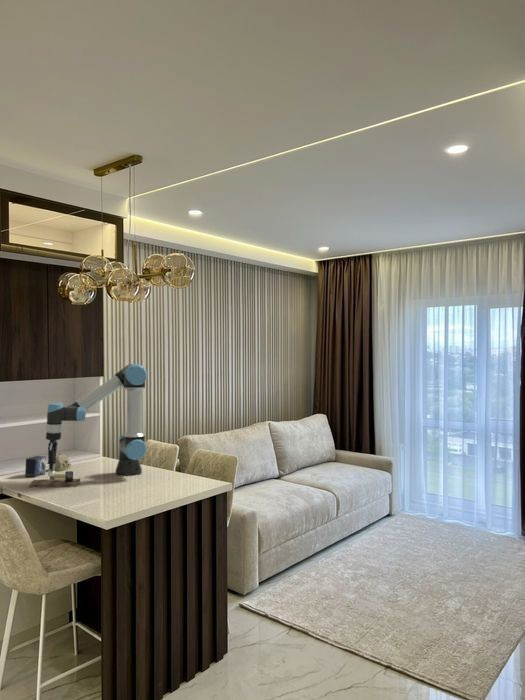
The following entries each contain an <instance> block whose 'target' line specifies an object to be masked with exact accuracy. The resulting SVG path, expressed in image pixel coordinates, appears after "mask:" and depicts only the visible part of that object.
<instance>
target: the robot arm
mask: <svg viewBox="0 0 525 700" xmlns="http://www.w3.org/2000/svg"><path fill="white" fill-rule="evenodd" d="M147 377H148V372H147V370H146V369H145V367H143V365H141V364H137V363H134V364H133V363H132V364H128V365H125V366H124V367H123V368H122V369H120V370H118V371H117V372H116V373H115V374H113V377H111V378H110V379H108V380H107V381H105V382H103V383H102V384H100V385H99V386H98V387H96V388H94V389H93V390H92V391H90V392H88V393H87V394H85V395H84V396H83V397H80V398H79V399H78V400H76V401H74V402H73V403H71V404H70V405H67V406H66V407H65V406H64V405H63V403H61V402H50V403H49V404H48V405H47V411H46V412H47V414H46V425H45V428H46V434H45V439H46V440H47V441H49V443H48V447H47V451H48V452H47V453H48V454H47V456H48V457H47V459H48V461H47V462H46V464H47V465H48V469H49V471H47V473H48V477H50V471H54V467H55V464H54V463H56V462H55V461H56V457H57V450H58V442H57V441H58V440H61V438H62V428H63V427H62V426H63V425H62V424H63V423H62V422H69V421H70V422H83V421H85V419H86V411H87V410H89V409H91V408H92V407H94V406H95V405H97V404H98V403H100V402H101V401H104V399H106V398H108V397H109V396H111V395H112V394H114V393H115V392H116V391H119V390H120V389H124V390H126V433H125V434H120V435H119V439H118V443H119V444H118V447H119V448H118V462H117V465H116V468H115V473H116V475H117V476H136V475H135V474H138V475H140V473H141V474H142V473H143V472H142V470H143V468H142V466H141V462H140V460H141V459H143V457H144V456H145V455H146V453H147V449H148V448H147V445H146V438H145V436H146V434H144V433H143V390H145V389H146V381H147Z"/></svg>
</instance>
